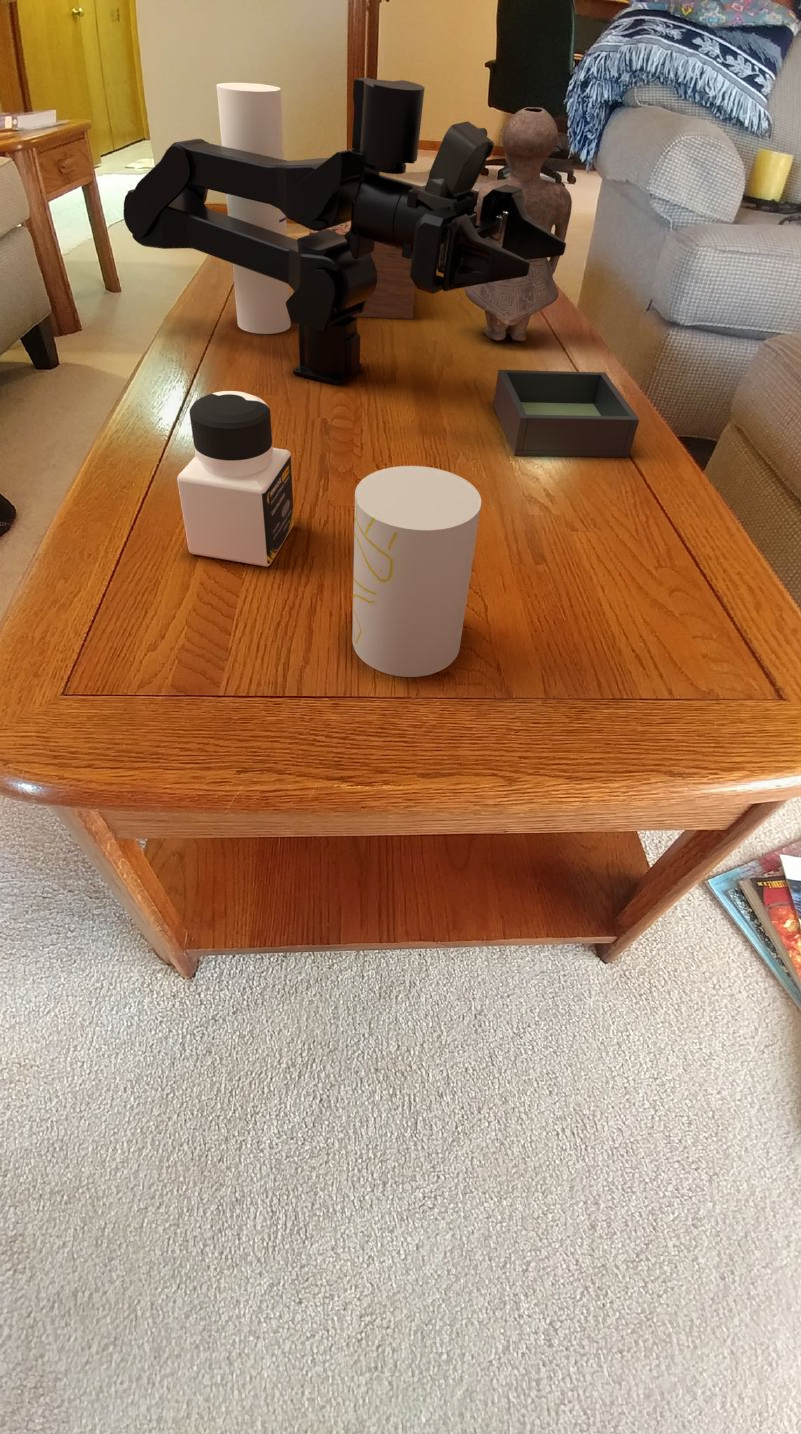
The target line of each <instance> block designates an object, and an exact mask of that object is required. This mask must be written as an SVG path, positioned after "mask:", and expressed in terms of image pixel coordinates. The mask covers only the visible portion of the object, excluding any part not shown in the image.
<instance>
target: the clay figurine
mask: <svg viewBox="0 0 801 1434" xmlns="http://www.w3.org/2000/svg"><path fill="white" fill-rule="evenodd" d="M558 130H559V129H558V126H557V123H556V121H555V119H554V118H553V116H552V115H551V114H550V113H549V112H548V111H547V110H546V109H545V108H543V107H533V106H527V107H524V108H522V109H520V110H518V111H516V112H515V113H513V115H512V116H511V117H510V118H509V120H508V121H507V123H506V124H505V125H504V127H503V130H502V134H501V144H502V148H503V151H504V155H505V156H504V157H505V163H506V166H508V168H509V176H508V177H507V178H504V179H496V180H491V181H488V182H486V183H485V184H483V185H482V186H480V188H479V189H478V190H477V191H479V195H478V201H477V206H475V208H474V211H475V212H477V221H479V220H480V214H481V208H482V202H483V197H484V196H486V195H487V194H488V193H489V192H490V191H491V190H493V189H495V188H498V187H500V186H503V185H506V184H507V185H511V186H514V187H518V188H522V191H523V196H524V198H525V204H524V205H525V208H526V211H527V214H528V215H529V216H530V217H531V218H532V219H533V220H535V221H536V222H537V223H539V224H540V225H541V226H543V227H544V228H546V229H547V230H548V231H550V232H551V233H552V230H553V227H554V233H553V234H554V235H556V236H557V237H558V238H560V239H561V240H563V241H564V242H566V237H567V234H568V233H567V232H568V229H569V223H570V219H571V214H572V208H573V205H572V204H573V200H572V199H573V198H572V195H571V193H570V191H569V190H568V189H567V188H566V187H565V186H564V185H562V184H560V183H558V182H554V181H550V180H546V179H543V178H542V177H541V171H542V168H543V166H544V163H545V161H546V160H547V159H548V158H549V157H550V155H552V153H553V152H554V151H555V149H556V148H557V146H558V143H559V131H558ZM560 257H561V256H556V257H549V259H548V258H540V259H531V260H527V261H528V262H530V269H529V274H528V275H527V276H525V277H519V278H513V279H507V280H501V281H496V282H490V283H485V284H479V285H474V286H469V287H464V292H465V296H466V298H468V299H469V301H470V302H471V303H473V304H474V305H475V306H477V307H478V308H480V309H481V310H483V311H484V315H485V321H486V327H484V328H483V329H482V333H483V334H484V335H485V336H486V337H488V339H490V340H492V341H502V340H505V339H506V335H507V334H508V335H510V337H511V340H513V341H516V342H524V341H526V339H527V329H528V325H529V322H530V319H531V317H532V316H533V315H535V314H537V313H538V312H540V311H542V310H544V309H545V308H547V307H549V306H550V305H552V304H553V303H555V302H556V301H557V299H558V298H559V290H558V287H557V284H556V283H555V280H554V276H553V275H554V274H555V272H556V270H557V266H558V263H559V260H560Z"/></svg>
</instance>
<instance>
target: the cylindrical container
mask: <svg viewBox="0 0 801 1434" xmlns="http://www.w3.org/2000/svg"><path fill="white" fill-rule="evenodd" d="M216 95H217V107H218V116H219V117H218V118H219V129H220V139H221V140H220V142H221V146H223V147H228V148H232V149H237V150H242V151H246V152H251V153H255V154H260V155H264V156H269V157H273V158H278V159H282V160H285V159H284V137H283V136H284V135H283V134H284V133H283V111H282V110H283V109H282V90H281V87H279V86H275V85H270V84H263V83H252V82H223V83H221V82H220V83H217V84H216ZM225 198H226V208H227V216H230V217H233V218H236V219H239V220H242V221H245V222H247V223H250V224H253V225H256V226H259V227H262V228H265V229H267V230H270V231H273V232H276V233H279V234H282V235H285V236H287V237H288V231H287V230H288V229H287V227H288V226H287V217H286V216H285V215H284V214H283V213H282V211H281V210H280V209H278V208H276V207H274V206H272V205H270V204H266V203H262V202H258V201H254V200H250V199H246V198H242V197H238V196H233V195H229V194H225ZM231 265H232V276H233V287H234V297H235V298H234V299H235V309H236V321H237V327H238V328H239V329H241V330H242V331H245V332H248V333H252V334H260V335H271V334H279V333H283V332H285V331H288V330H289V329H291V325H292V322H291V321H290V317H289V314H288V311H287V307H286V301H287V300H288V299H289V298H290V285H288V284H287V283H285V282H282V281H279V280H276V279H274V278H271V277H268V276H266V275H263V274H260V273H257V272H255V271H252V270H249V269H247V268H244V267H241V266H238V265H236V264H233V263H231Z"/></svg>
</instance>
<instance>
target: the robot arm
mask: <svg viewBox="0 0 801 1434" xmlns="http://www.w3.org/2000/svg"><path fill="white" fill-rule="evenodd" d="M352 87H353V88H352V100H353V120H352V138H351V148H350V149H346V150H341V151H336V152H335V153H334V154H332V155H331V156H330V157H319V158H317V157H316V158H308V159H296V160H286V159H284V160H282V159H278V158H273V157H269V156H264V155H260V154H255V153H251V152H246V151H242V150H237V149H232V148H228V147H223V146H222V145H220V144H219V145H218V144H214V143H210V142H208V141H206V140H204V139H202V138H193V139H187V140H181V141H175V142H173V143H172V144H171V145H170V146H169V147H168V148H167V149H166V150H165V152H164V154H163V156H162V157H161V159H160V160H159V162H158V163H156V165H155V166H153V167H152V169H150V170H149V171H148V172H147V173H146V174H145V175H144V176H143V177H142V178H141V179H140V180H139V181H138V182H137V184H136V186H135V187H134V188H132V189H130V190H127V193H126V194H125V196H124V201H123V220H124V223H125V226H126V227H127V230H128V231H129V232H130V233H131V234H132V238H133V240H134V241H135V242H136V243H137V244H139V245H141V246H143V247H144V248H145V247H146V248H152V249H153V248H154V249H162V250H173V249H174V250H175V249H176V250H178V249H179V250H181V249H191V250H196V251H198V252H201V253H203V254H206V255H208V256H212V257H213V258H217V259H220V260H223V261H224V262H227V263H231V264H232V263H233V264H236V265H238V266H241V267H244V268H247V269H249V270H252V271H255V272H257V273H260V274H263V275H266V276H268V277H271V278H274V279H276V280H279V281H282V282H285V283H287V284H288V285H289V288H291V290H293V293H292V294H291V296H289V299H288V300H287V301H286V307H287V311H288V314H289V317H290V322H291V324H296V325H297V327H298V354H299V356H298V357H299V364H298V365H296V367H294V368H292V373H293V374H294V375H295V376H300V377H304V378H309V379H312V380H316V381H320V382H321V381H322V382H326V383H329V384H334V385H342V384H343V383H345V382H346V381H347V380H349V379H350V378H352V377H353V376H354V375H356V374H357V373H359V371H361V370H362V369H363V363H361V338H362V337H361V334H360V333H359V332H358V318H357V317H355V316H354V315H356V314H358V313H362V312H363V311H364V308H365V305H366V302H367V299H368V298H370V297H371V296H372V294H373V293H374V291H375V289H376V285H377V270H376V266H375V263H374V261H373V259H372V257H371V253H373V252H374V245H375V242H379V243H382V244H385V245H388V246H392V247H395V248H398V249H401V250H402V257H404V258H408V259H412V261H411V270H410V277H411V278H412V280H413V282H414V284H415V289H417V290H420V291H423V292H426V293H429V294H432V295H435V294H437V293H439V292H441V291H443V292H449V291H452V290H457V289H463V288H465V287H469V286H474V285H479V284H485V283H490V282H496V281H501V280H507V279H513V278H519V277H525V276H527V275H528V274H529V269H530V262H528V261H527V260H531V259H540V258H547V259H548V258H550V257H556V256H560V257H562V256H563V255H564V254H565V252H566V248H567V242H566V241H563V240H561V239H560V238H558V237H557V236H556V235H554V233H553V232H552V231H551V232H550V231H548V230H547V229H546V228H544V227H543V226H541V225H540V224H539V223H537V222H536V221H535V220H533V219H532V218H531V217H530V216H529V215H528V214H527V211H526V208H525V205H524V204H525V198H524V196H523V191H522V188H518V187H514V186H511V185H507V184H506V185H503V186H500V187H498V188H495V189H493V190H491V191H490V192H489V193H488V194H487V195H486V196H484V197H483V202H482V208H481V214H480V220H479V221H477V212H475V211H474V208H475V206H477V201H478V195H479V191H478V190H475V189H473V188H474V187H475V185H476V183H477V181H478V179H479V176H480V174H481V172H482V170H483V168H484V166H485V163H486V162H487V160H488V158H490V157H491V155H492V153H493V150H494V148H495V142H494V141H493V140H491V138H490V137H488V130H487V129H486V128H485V127H477V126H476V125H475V124H473V123H471V122H470V121H468V120H467V121H463V122H457V123H454V124H452V125H450V126H449V127H448V129H447V130H446V132H445V134H444V136H443V138H442V141H441V143H440V145H439V148H438V151H437V154H436V155H435V158H434V160H433V162H432V165H431V168H430V170H429V173H428V177H427V178H428V179H427V181H426V184H425V185H419V184H414V183H411V182H408V181H404V180H401V179H398V178H393V177H389V176H386V175H384V174H388V175H402V174H405V173H406V172H407V164H411V165H413V164H415V162H417V160H418V153H419V143H420V135H421V125H422V117H423V116H422V115H423V106H424V98H425V87H424V86H423V85H422V84H419V83H417V82H412V81H409V80H404V79H401V80H386V79H375V78H374V79H373V78H369V77H360V78H355V79H354V80H353V86H352ZM381 173H382V174H383V175H382V174H381ZM209 190H210V191H213V192H218V193H221V194H225V195H226V194H229V195H233V196H238V197H242V198H246V199H250V200H254V201H258V202H262V203H266V204H270V205H272V206H274V207H276V208H278V209H280V210H281V211H282V213H283V214H284V215H285V216H286V219H289V220H290V221H292V222H294V223H297V224H298V225H300V226H302V227H305V228H306V229H308V230H310V229H311V230H313V231H319V232H316V233H313V234H310V235H309V234H307V235H304V236H301V237H298V238H293V237H290V236H288V235H287V236H285V235H282V234H279V233H276V232H273V231H270V230H267V229H265V228H262V227H259V226H256V225H253V224H250V223H247V222H245V221H242V220H239V219H236V218H233V217H230V216H228V214H225V213H222V212H218V211H216V210H213V209H210V208H209V207H207V205H206V204H205V203H206V202H207V200H208V199H207V198H208V194H209V193H208V192H209ZM349 221H351V227H350V230H349V231H348V232H347V233H346V234H345V235H344V236H342V235H340V234H338V233H336V232H335V231H332V230H329V229H328V228H331V227H334V226H337V225H340V224H343V223H346V222H349ZM437 273H440V274H443V276H442V275H439V274H437Z"/></svg>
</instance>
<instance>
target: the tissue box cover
mask: <svg viewBox="0 0 801 1434" xmlns="http://www.w3.org/2000/svg"><path fill="white" fill-rule="evenodd" d="M350 227H351V221H349V222H346V223H343V224H340V225H337V226H334V227H331V228H328V229H329V230H332V231H335V232H336V233H338V234H340V235H342V236H344V235H345V234H346V233H347V232H348V231H349V230H350ZM308 230H309V231H308V235H310V234H313V233H316V232H319V231H313V230H311V229H308ZM371 257H372V259H373V261H374V263H375V266H376V270H377V285H376V289H375V291H374V293H373V294H372V296H371V297H370V298H368V299H367V302H366V305H365V308H364V311H363V312H362V313H358V314H356V315H354V316H353V317H359V318H383V319H402V320H403V319H406V320H413V318H414V317H413V316H414V304H415V303H414V302H415V289H416V286H415V284H414V282H413V280H412V278H411V277H410V270H411V261H412V259H408V258H404V257H402V250H401V249H398V248H395V247H392V246H388V245H385V244H382V243H379V242H375V245H374V252H373V253H371Z"/></svg>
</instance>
